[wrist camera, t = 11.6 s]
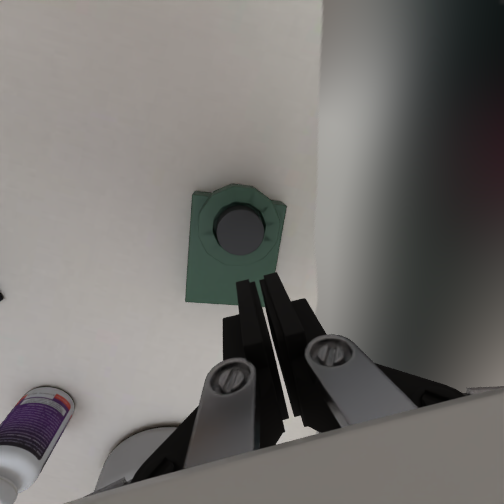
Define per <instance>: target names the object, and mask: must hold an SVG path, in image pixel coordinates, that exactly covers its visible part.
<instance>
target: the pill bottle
mask: <svg viewBox="0 0 504 504" xmlns="http://www.w3.org/2000/svg"><path fill="white" fill-rule="evenodd" d="M73 412H74V403H73V400H72V399H71V397H70V396H69V395H68V394H67V393H65V392H64V391H62V390H60V389H57V388H52V387H40V388H36V389H33V390H31V391H29V392H27V393H26V394H25V395H24V396H23V397H22V398H21V399H20V401H19V402H18V403H17V404H16V405H15V407H14V408H13V409H12V411H11V412H10V413H9V414H8V416H7V417H6V418H5V419H4V421H3V422H2V423H1V424H0V504H13V503H14V502H15V500H16V498H17V495H18V493H21V492H23V491H25V490H26V489H28V488H29V487H30V486H31V485H32V484H33V483H34V482H35V481H36V479H37V478H38V476H39V474H40V473H41V471H42V469H43V467H44V465H45V464H46V462H47V460H48V458H49V457H50V455H51V453H52V451H53V449H54V448H55V446H56V444H57V442H58V440H59V439H60V437H61V435H62V433H63V431H64V430H65V428H66V426H67V424H68V422H69V421H70V419H71V417H72V415H73Z"/></svg>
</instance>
